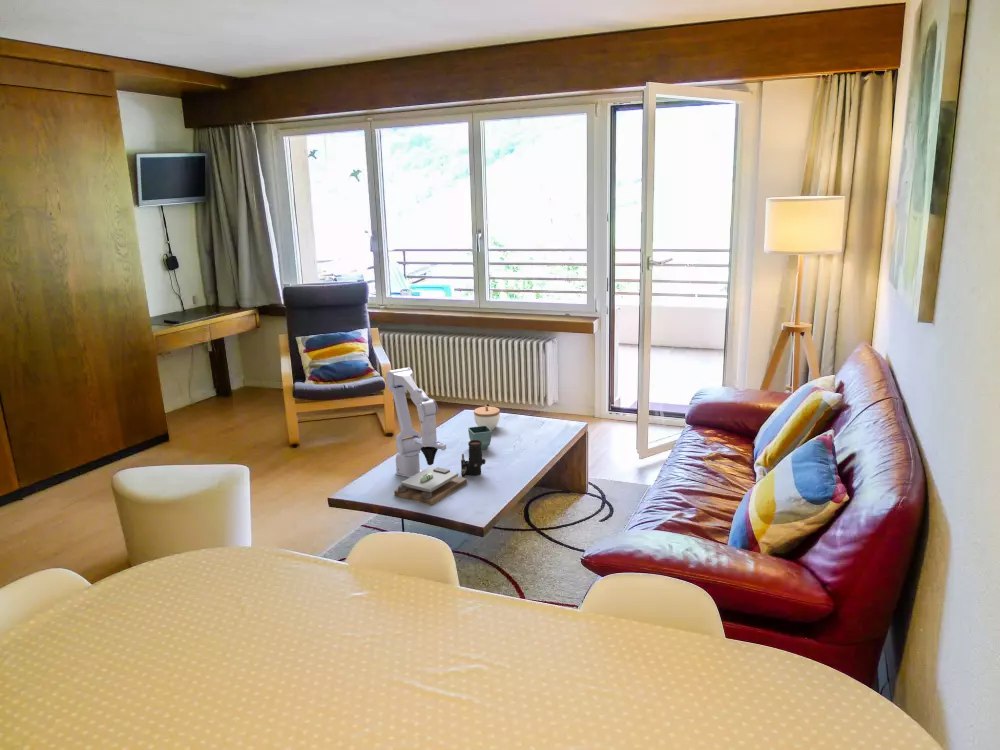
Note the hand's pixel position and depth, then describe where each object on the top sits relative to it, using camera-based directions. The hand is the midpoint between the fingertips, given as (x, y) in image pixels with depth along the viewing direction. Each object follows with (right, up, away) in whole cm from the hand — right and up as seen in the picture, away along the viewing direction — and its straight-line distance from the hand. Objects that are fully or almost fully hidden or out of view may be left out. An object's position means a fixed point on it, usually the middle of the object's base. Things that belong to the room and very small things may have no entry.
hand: (430, 464), depth 275 cm
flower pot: (+18, +1, +45) cm, 48 cm away
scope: (+16, -6, +16) cm, 24 cm away
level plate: (0, -7, +1) cm, 7 cm away
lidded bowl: (+21, +9, +70) cm, 74 cm away
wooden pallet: (0, -10, +2) cm, 10 cm away
